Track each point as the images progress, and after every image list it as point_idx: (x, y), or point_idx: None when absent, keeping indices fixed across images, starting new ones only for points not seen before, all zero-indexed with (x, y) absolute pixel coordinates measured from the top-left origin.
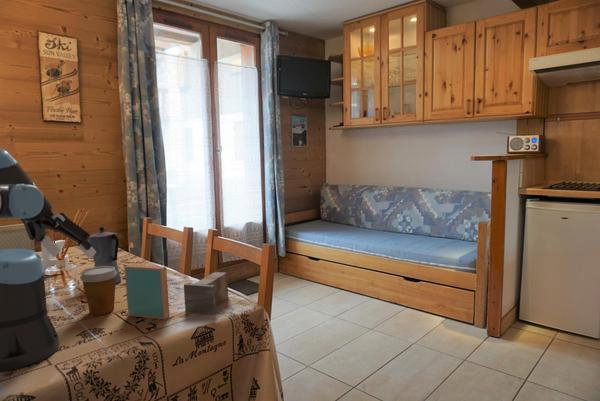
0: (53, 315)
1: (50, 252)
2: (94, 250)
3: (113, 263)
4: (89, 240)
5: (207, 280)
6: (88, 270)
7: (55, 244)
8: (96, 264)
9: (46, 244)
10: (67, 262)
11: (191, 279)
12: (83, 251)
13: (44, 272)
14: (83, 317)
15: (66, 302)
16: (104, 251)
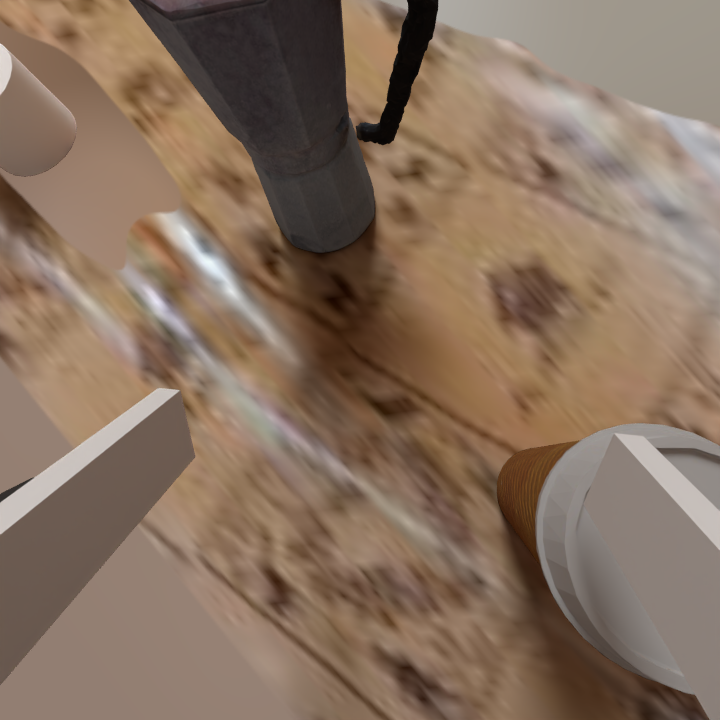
0: (376, 562)
1: (147, 501)
2: (663, 464)
3: (351, 142)
4: (179, 41)
5: None
6: (572, 535)
7: (112, 448)
8: (282, 179)
9: (54, 595)
10: (38, 89)
11: (650, 114)
12: (669, 628)
13: (3, 166)
14: (519, 570)
15: (319, 425)
16: (316, 105)
